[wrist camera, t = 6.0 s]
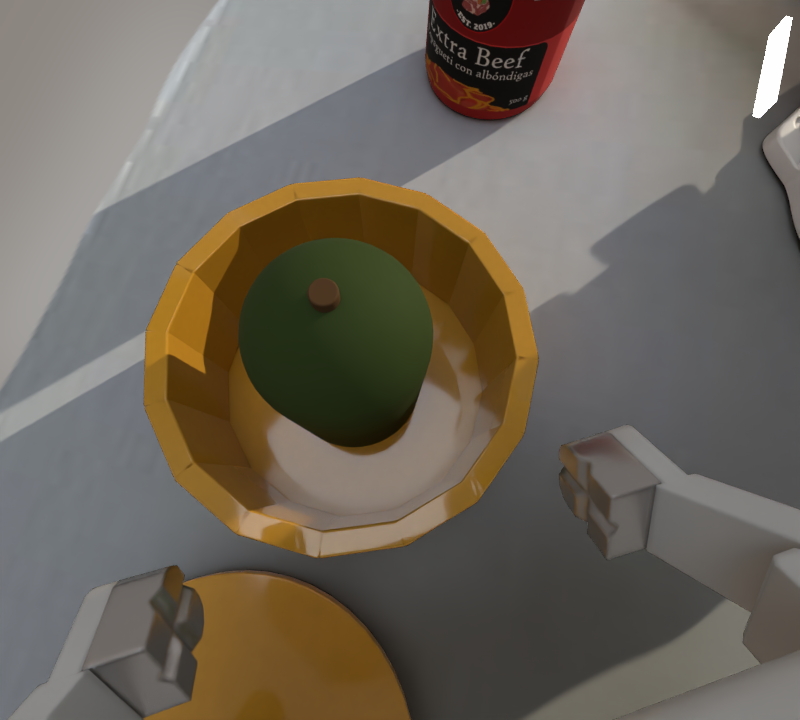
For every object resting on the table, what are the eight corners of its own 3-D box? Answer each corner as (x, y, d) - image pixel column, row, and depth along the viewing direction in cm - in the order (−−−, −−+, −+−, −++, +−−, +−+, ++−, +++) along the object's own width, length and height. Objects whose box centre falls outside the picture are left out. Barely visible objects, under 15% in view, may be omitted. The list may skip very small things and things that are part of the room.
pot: (338, 213, 24) (320, 121, 18) (547, 361, 22) (607, 314, 16) (155, 407, 21) (58, 377, 15) (378, 599, 19) (371, 656, 13)
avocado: (347, 298, 22) (309, 146, 12) (445, 371, 21) (493, 273, 11) (263, 392, 21) (144, 310, 11) (364, 475, 20) (338, 469, 10)
